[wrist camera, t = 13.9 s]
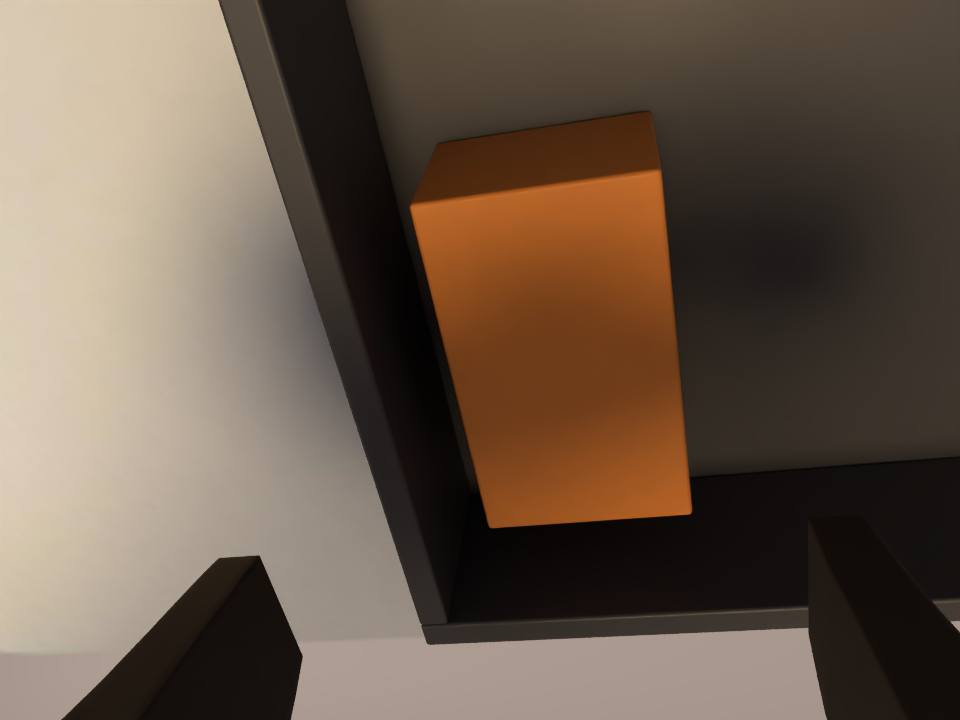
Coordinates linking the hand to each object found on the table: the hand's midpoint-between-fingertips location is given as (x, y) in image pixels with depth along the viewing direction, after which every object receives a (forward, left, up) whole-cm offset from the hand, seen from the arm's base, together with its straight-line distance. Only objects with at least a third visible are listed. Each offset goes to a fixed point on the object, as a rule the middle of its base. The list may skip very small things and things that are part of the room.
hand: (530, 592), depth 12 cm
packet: (0, 0, -8) cm, 8 cm away
